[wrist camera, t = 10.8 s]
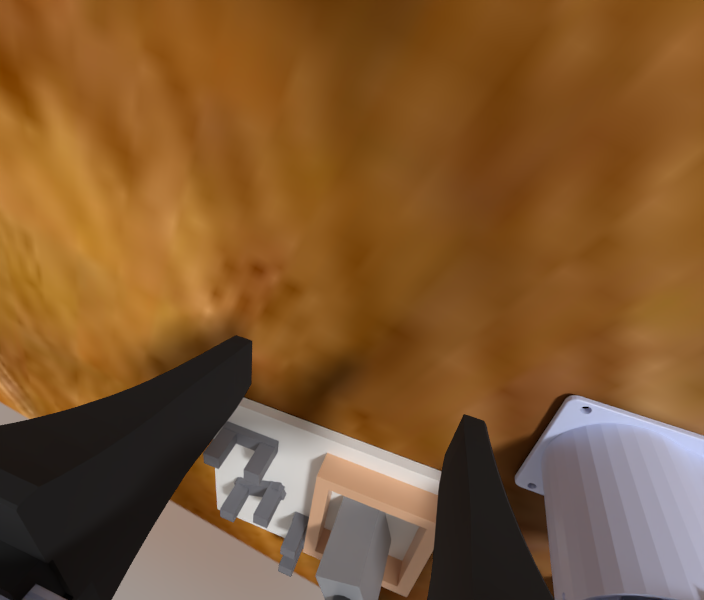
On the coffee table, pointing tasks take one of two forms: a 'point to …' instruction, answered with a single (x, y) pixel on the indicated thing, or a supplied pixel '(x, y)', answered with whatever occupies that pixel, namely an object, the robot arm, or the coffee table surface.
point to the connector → (355, 553)
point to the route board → (296, 475)
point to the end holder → (383, 497)
